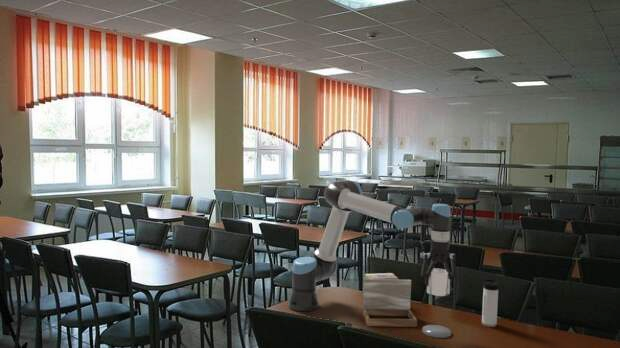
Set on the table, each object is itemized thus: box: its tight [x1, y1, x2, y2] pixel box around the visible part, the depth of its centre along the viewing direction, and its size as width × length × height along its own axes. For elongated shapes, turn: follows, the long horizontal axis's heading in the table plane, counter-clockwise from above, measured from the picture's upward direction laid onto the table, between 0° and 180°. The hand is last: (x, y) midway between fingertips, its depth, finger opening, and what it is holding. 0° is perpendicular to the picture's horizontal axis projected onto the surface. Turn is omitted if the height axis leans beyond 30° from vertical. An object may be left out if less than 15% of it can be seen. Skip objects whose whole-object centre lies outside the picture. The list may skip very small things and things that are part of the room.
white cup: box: [429, 267, 448, 297], centre depth 199 cm, size 8×8×10 cm
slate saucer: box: [421, 324, 452, 339], centre depth 201 cm, size 12×12×1 cm
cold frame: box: [362, 278, 418, 328], centre depth 213 cm, size 15×22×17 cm
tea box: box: [364, 272, 399, 280], centre depth 235 cm, size 15×10×15 cm
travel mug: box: [481, 278, 499, 328], centre depth 211 cm, size 6×7×20 cm
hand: (438, 293), depth 200 cm, fingers closed on white cup, 7 cm apart
